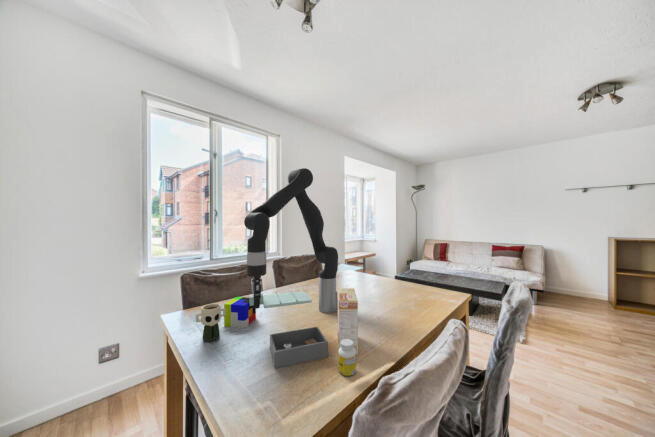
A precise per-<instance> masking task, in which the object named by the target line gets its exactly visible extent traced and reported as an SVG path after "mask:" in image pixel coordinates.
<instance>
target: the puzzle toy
mask: <svg viewBox="0 0 655 437" xmlns="http://www.w3.org/2000/svg"><path fill="white" fill-rule="evenodd" d="M223 308H225V309H226V315H225V316H223V325H224V327H228V328H237V329H238V328H239V329H245V328H247V327H248V326H249V325H251V323H253V322H254V321H255V320H257V309H254V305H253V306H250V297H243V296H236V297H234V298H232V299H231V300H229V301H227V302H225V303H224V304H223Z"/></svg>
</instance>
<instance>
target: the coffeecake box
mask: <svg viewBox="0 0 655 437" xmlns="http://www.w3.org/2000/svg"><path fill="white" fill-rule="evenodd" d="M337 292H338V310H337V346H338V348H337V349H338V351H339V349H340V347H341V341H342V340H343V339H350V340H352V341H353V348H354V349H355V351H356V355H358V354H359V329H358V328H359V319H358V318H359V314H358V313H359V310H358V308H359V306H358V305H359V301H358V297H357V293H356V290H355V288H353V287H352V288H350V287H349V288H347V287H346V288H345V287H339V288H337Z"/></svg>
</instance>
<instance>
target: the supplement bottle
mask: <svg viewBox="0 0 655 437" xmlns="http://www.w3.org/2000/svg"><path fill="white" fill-rule="evenodd" d="M338 373H339V375H341V376H342V377H345V378H351V377H354V376H355V375H356V373H357V354H356V351H355V349H354V348H353V341H352V340H350V339H343V340H342V341H341V347H340V349H339V350H338Z"/></svg>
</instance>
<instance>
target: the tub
mask: <svg viewBox="0 0 655 437" xmlns="http://www.w3.org/2000/svg"><path fill="white" fill-rule="evenodd" d="M310 339H314V340H315V341H317V342H318V343H314V344H309V345H304V341H307V340H310ZM285 342H291V343H292V348H288V349H283V343H285ZM269 351H270V355H271V359H272V364H273V369H274V370H275V369H280V368H284V367H289V366H294V365H297V364H303V363H307V362H312V361H316V360H322V359H325V358H328V357H329V341H328V339H327V338H326V337H325V336H324V334H323V333H322V332H321V330H320V328H319V327H318V326H311V327H308V328H301V329H296V330H289V331H284V332H277V333H272V334H269Z"/></svg>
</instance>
